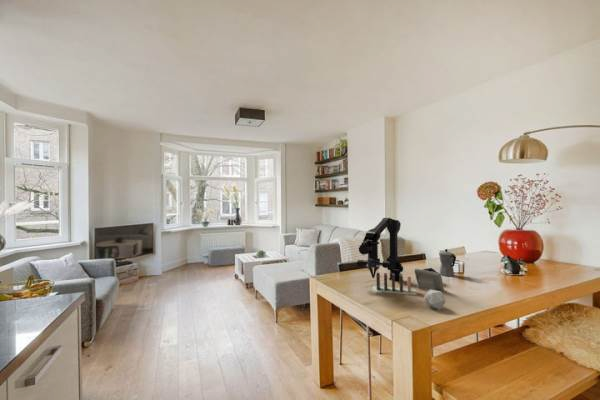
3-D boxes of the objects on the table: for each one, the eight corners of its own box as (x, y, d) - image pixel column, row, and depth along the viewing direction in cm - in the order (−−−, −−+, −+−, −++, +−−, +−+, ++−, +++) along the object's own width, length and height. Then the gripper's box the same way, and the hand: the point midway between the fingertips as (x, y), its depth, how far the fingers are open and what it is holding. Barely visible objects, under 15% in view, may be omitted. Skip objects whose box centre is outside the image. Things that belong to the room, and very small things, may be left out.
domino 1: (379, 287, 164) (379, 272, 164) (379, 290, 159) (379, 274, 159) (377, 287, 165) (376, 272, 165) (376, 289, 160) (376, 274, 160)
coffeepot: (434, 272, 195) (434, 247, 196) (446, 271, 197) (445, 247, 197) (449, 278, 180) (449, 251, 180) (462, 277, 182) (461, 251, 182)
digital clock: (445, 291, 157) (445, 272, 157) (434, 293, 153) (434, 274, 153) (422, 283, 171) (422, 266, 171) (412, 285, 168) (411, 268, 168)
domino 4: (402, 289, 160) (402, 274, 160) (403, 292, 155) (402, 276, 155) (399, 289, 160) (399, 273, 160) (400, 291, 156) (399, 276, 156)
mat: (415, 289, 160) (414, 289, 160) (416, 295, 151) (416, 294, 151) (372, 286, 168) (372, 285, 168) (371, 291, 158) (371, 290, 158)
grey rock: (423, 304, 139) (419, 292, 135) (437, 295, 140) (433, 282, 136) (435, 316, 132) (431, 303, 127) (450, 306, 132) (447, 293, 128)
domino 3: (394, 288, 161) (394, 273, 161) (395, 291, 157) (394, 275, 157) (392, 288, 162) (391, 273, 162) (392, 291, 157) (391, 275, 157)
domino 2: (387, 288, 163) (387, 273, 163) (387, 290, 158) (386, 275, 158) (384, 287, 163) (384, 272, 163) (384, 290, 158) (384, 275, 158)
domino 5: (410, 290, 159) (410, 274, 159) (411, 292, 154) (410, 277, 154) (407, 289, 159) (407, 274, 159) (408, 292, 154) (407, 276, 154)
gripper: (355, 254, 158) (355, 280, 158) (389, 255, 152) (389, 283, 152) (357, 250, 169) (358, 275, 169) (389, 251, 163) (389, 277, 163)
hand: (373, 278), depth 163 cm, fingers closed
